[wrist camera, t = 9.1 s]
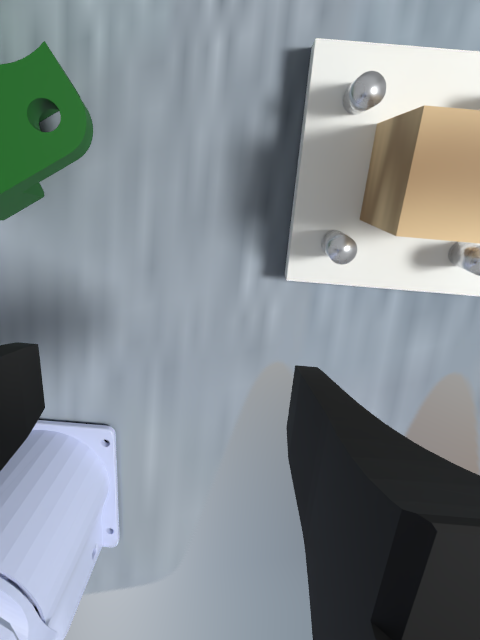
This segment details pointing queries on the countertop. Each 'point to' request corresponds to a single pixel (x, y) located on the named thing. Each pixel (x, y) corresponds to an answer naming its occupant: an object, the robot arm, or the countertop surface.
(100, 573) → the countertop surface
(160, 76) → the countertop surface
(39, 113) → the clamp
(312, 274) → the plate
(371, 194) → the block
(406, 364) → the countertop surface
